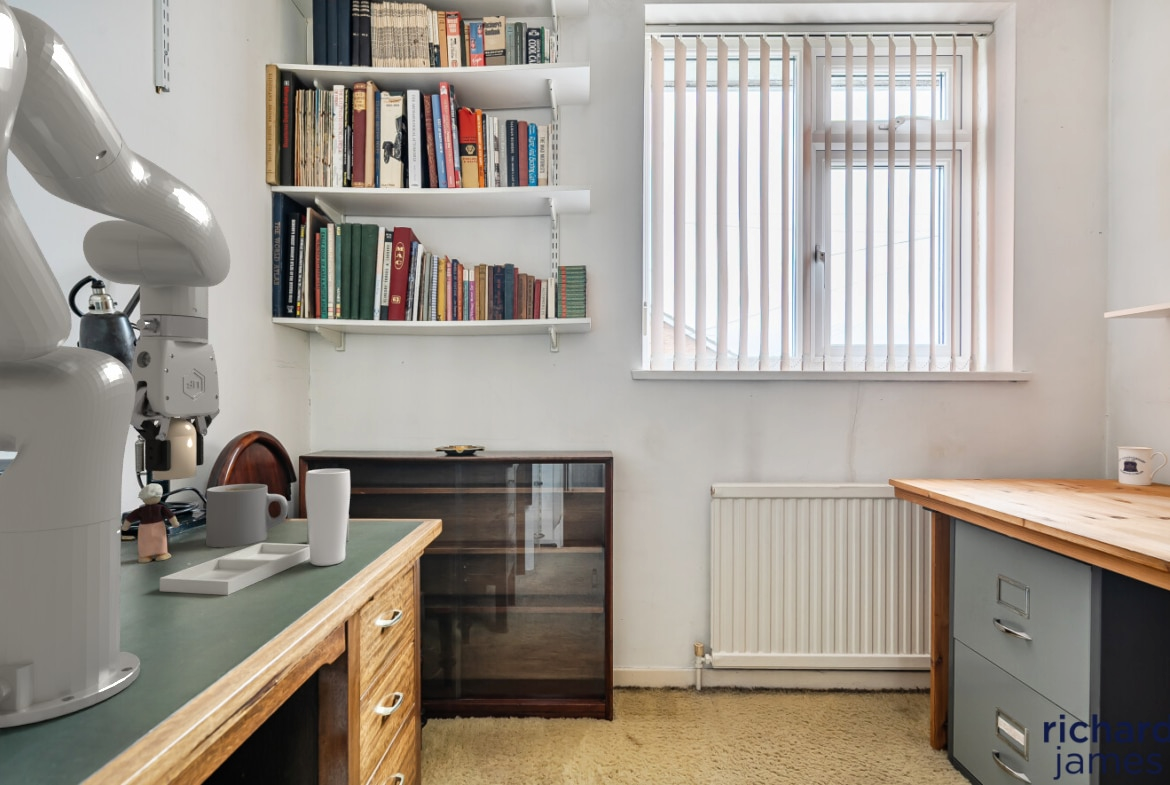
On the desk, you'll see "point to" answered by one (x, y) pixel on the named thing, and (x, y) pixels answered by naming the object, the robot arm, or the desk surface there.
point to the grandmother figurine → (151, 524)
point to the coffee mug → (240, 514)
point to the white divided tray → (236, 569)
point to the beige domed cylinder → (180, 451)
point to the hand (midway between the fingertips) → (175, 466)
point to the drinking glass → (327, 514)
